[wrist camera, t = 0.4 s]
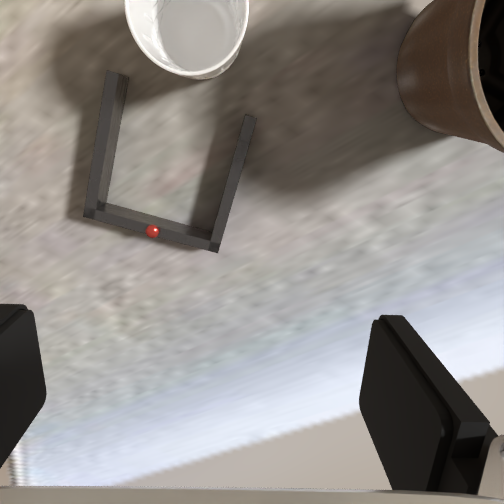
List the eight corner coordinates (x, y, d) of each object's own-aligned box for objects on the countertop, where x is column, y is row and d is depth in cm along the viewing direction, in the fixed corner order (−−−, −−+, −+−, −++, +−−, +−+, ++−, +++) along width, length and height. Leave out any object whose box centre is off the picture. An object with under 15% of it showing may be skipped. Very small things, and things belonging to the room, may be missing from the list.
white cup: (147, 69, 34) (113, 52, 25) (168, -29, 32) (138, -90, 22) (231, 98, 35) (228, 91, 26) (257, 4, 33) (264, -41, 23)
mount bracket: (117, 73, 34) (105, 69, 31) (255, 118, 36) (256, 118, 33) (94, 210, 38) (81, 218, 35) (219, 244, 40) (217, 255, 37)
